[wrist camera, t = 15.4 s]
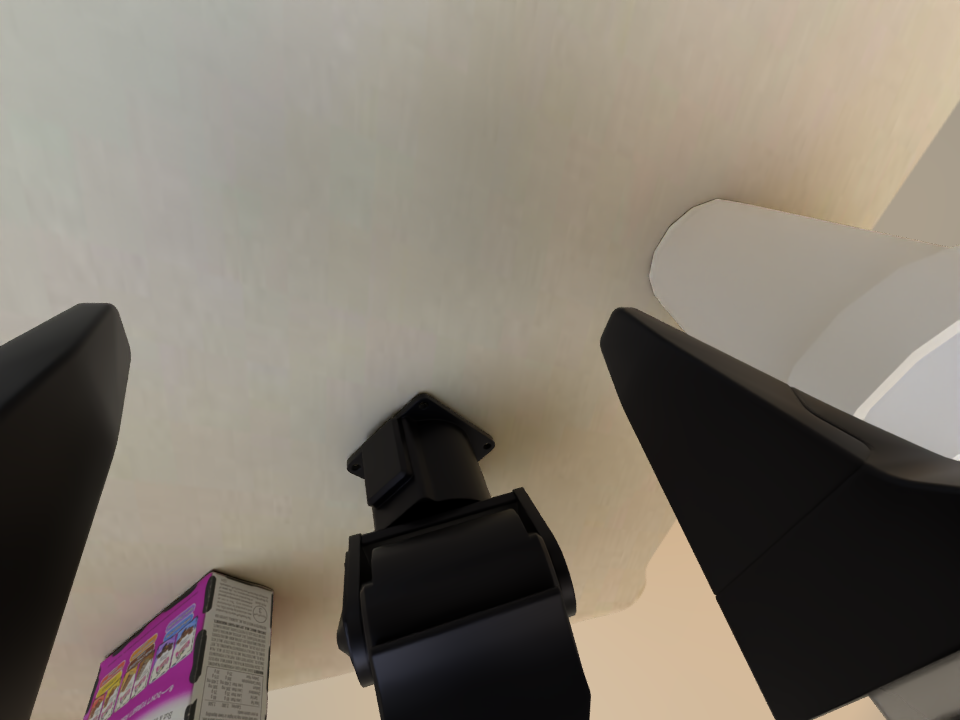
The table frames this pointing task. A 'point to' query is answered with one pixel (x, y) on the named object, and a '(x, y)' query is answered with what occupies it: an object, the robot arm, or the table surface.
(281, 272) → the table surface
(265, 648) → the candy bar box
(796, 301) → the foam cup
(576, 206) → the table surface
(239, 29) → the table surface
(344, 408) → the table surface
